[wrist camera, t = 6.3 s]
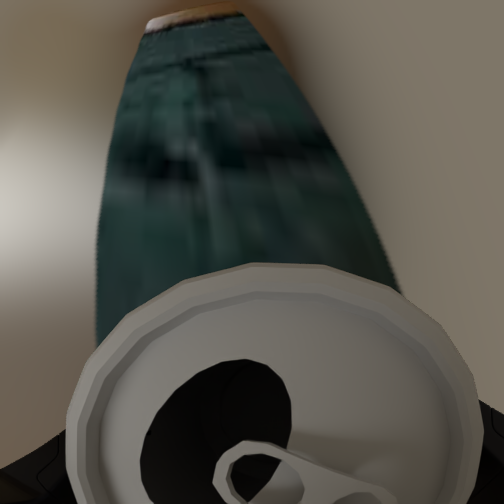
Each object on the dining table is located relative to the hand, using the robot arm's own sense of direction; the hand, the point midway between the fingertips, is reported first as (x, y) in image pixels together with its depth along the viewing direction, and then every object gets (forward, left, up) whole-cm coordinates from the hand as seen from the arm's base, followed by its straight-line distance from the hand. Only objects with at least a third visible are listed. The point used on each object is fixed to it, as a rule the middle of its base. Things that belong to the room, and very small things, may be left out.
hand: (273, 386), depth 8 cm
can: (-1, 0, -7) cm, 7 cm away
